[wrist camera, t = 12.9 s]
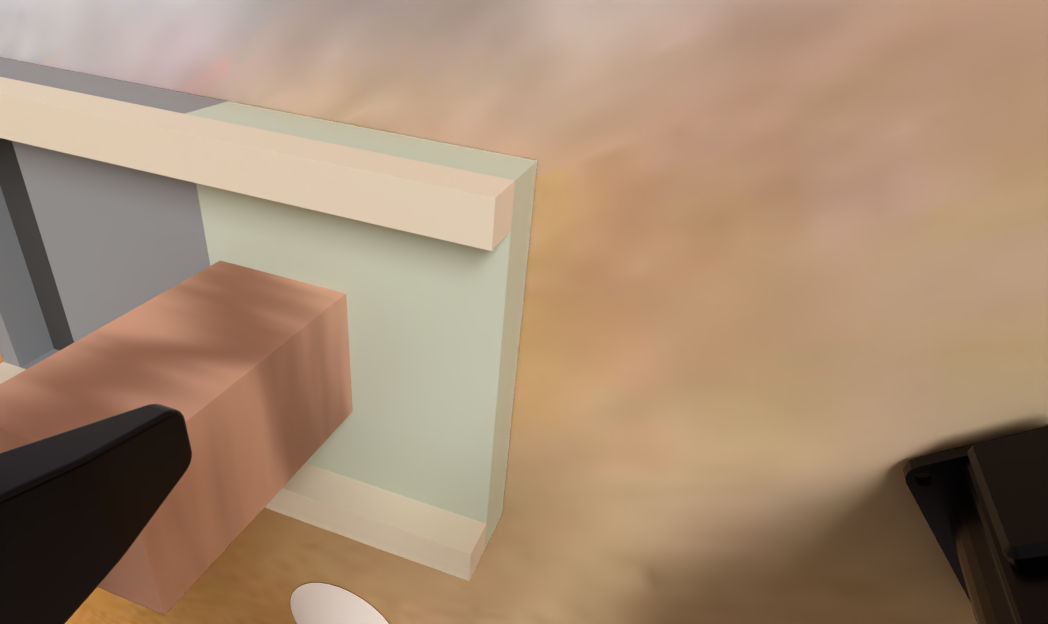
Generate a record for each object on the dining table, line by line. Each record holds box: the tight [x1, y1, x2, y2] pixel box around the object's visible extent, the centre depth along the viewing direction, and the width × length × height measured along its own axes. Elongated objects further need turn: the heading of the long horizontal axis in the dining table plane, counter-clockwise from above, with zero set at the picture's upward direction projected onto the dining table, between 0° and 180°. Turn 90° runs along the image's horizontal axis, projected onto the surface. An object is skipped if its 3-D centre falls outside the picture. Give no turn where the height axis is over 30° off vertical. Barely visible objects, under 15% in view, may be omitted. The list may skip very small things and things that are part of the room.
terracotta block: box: [0, 261, 353, 615], centre depth 20 cm, size 5×5×9 cm
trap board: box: [0, 57, 537, 581], centre depth 25 cm, size 24×15×4 cm, turn 84°
